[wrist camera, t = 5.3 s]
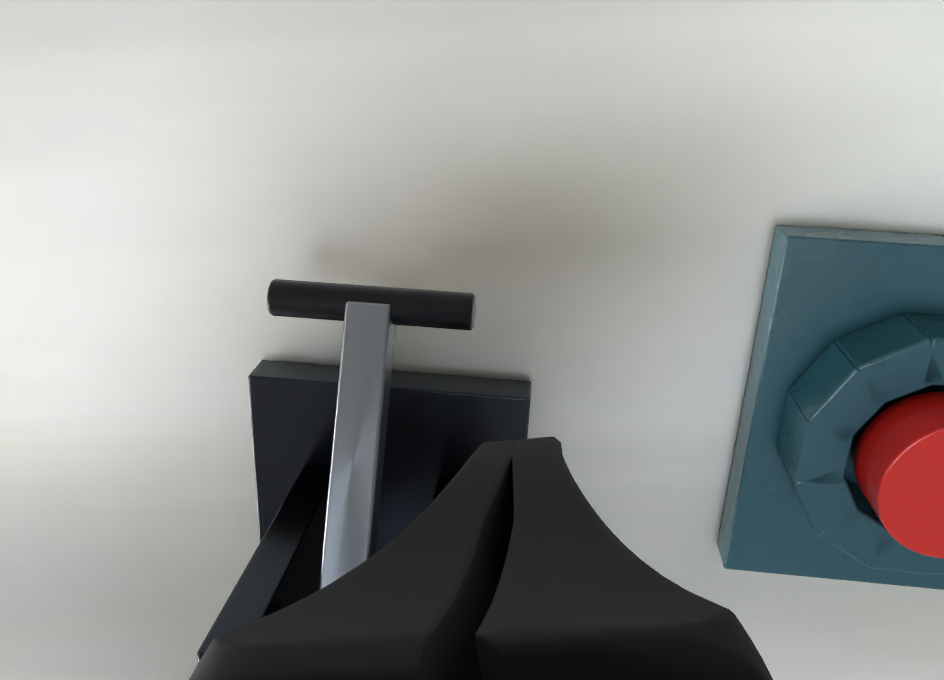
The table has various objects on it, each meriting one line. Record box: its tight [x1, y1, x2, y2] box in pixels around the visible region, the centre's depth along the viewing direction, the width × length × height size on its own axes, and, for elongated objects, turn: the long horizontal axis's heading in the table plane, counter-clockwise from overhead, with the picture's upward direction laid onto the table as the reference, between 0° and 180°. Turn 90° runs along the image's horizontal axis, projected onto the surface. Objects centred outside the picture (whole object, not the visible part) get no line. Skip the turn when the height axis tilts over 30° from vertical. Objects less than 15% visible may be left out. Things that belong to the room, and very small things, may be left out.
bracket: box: [197, 360, 531, 663], centre depth 22 cm, size 10×8×9 cm
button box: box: [718, 225, 944, 590], centre depth 21 cm, size 10×8×3 cm
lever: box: [267, 279, 476, 590], centre depth 20 cm, size 11×5×2 cm, turn 178°
